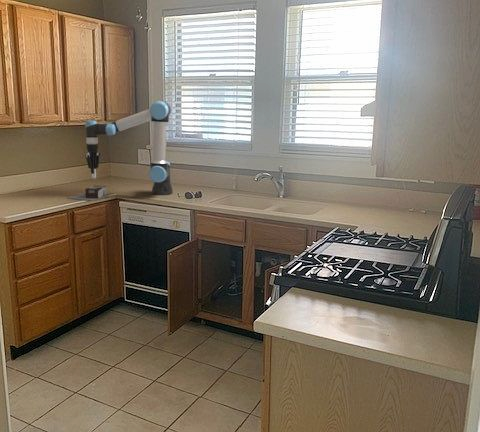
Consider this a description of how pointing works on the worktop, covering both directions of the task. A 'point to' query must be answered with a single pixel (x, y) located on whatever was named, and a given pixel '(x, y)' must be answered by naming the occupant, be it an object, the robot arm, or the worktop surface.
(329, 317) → the worktop surface
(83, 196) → the mat
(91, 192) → the coffee box
